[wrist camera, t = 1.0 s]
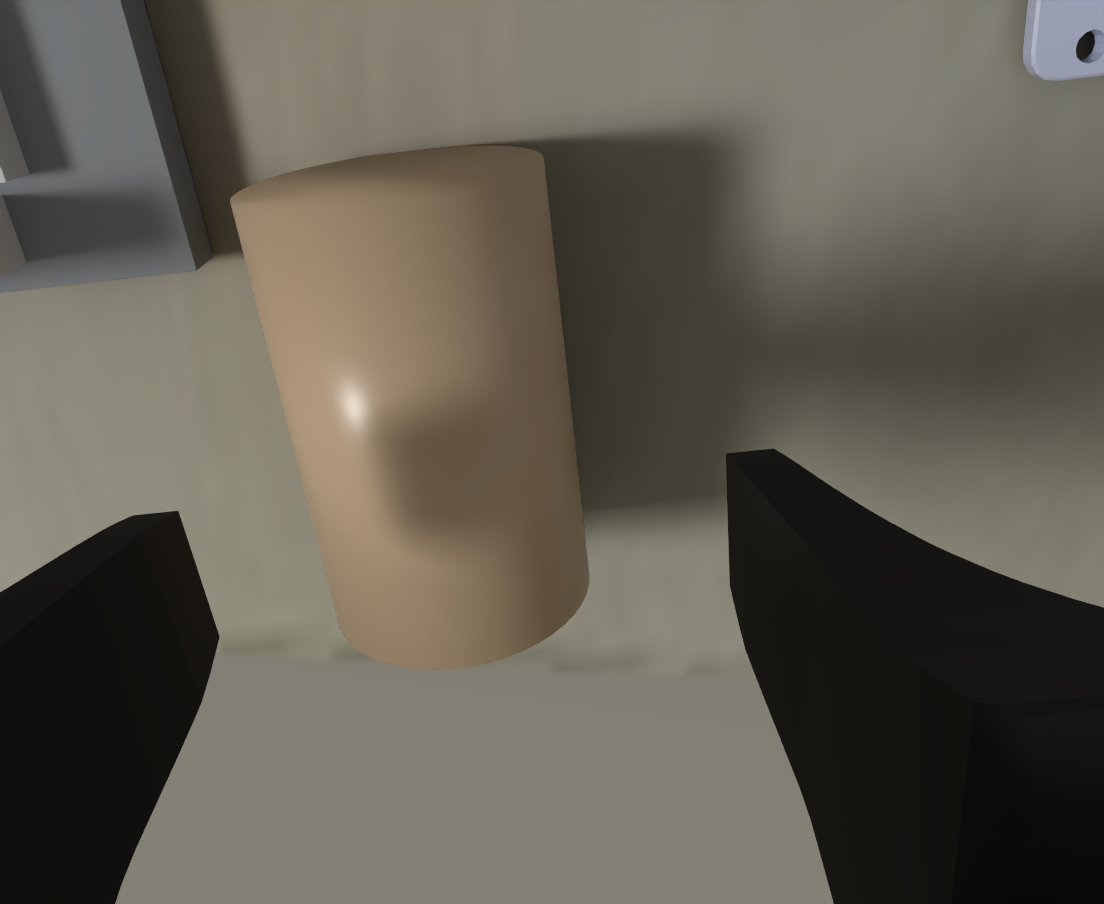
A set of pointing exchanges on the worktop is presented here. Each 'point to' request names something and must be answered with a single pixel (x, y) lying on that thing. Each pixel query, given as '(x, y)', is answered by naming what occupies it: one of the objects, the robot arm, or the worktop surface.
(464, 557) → the beige rounded cylinder
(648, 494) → the worktop surface
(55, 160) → the holder
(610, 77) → the worktop surface
